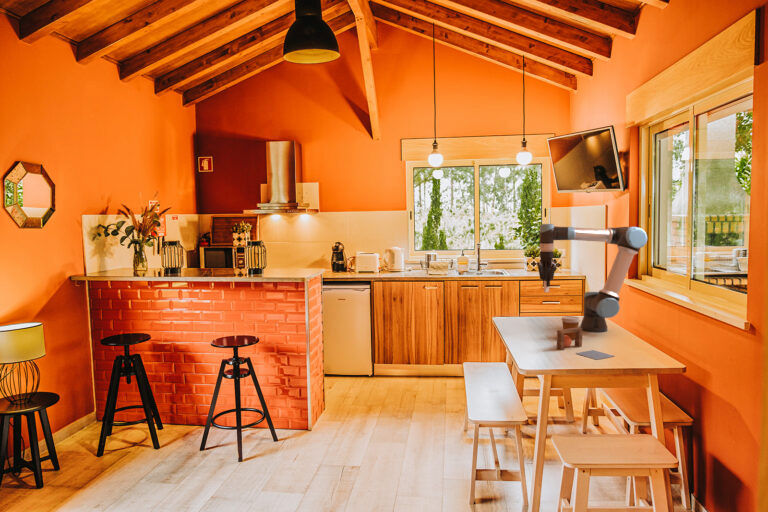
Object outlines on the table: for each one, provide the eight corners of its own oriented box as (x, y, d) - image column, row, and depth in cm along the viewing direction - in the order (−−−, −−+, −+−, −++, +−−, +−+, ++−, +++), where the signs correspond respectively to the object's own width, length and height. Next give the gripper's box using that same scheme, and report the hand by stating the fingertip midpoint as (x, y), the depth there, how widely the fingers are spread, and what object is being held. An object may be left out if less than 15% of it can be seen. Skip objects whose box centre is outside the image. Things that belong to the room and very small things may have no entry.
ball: (574, 346, 270) (564, 347, 274) (573, 334, 271) (562, 335, 276) (568, 346, 266) (558, 347, 271) (567, 334, 268) (556, 335, 272)
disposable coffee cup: (580, 341, 283) (581, 319, 282) (562, 340, 285) (562, 318, 284) (577, 337, 292) (578, 316, 291) (560, 336, 294) (560, 315, 293)
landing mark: (593, 350, 263) (593, 350, 263) (615, 356, 252) (615, 356, 252) (575, 353, 257) (575, 353, 257) (596, 359, 246) (596, 359, 246)
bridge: (556, 348, 266) (557, 330, 266) (577, 345, 274) (577, 327, 273) (561, 350, 264) (561, 331, 263) (581, 346, 271) (582, 328, 270)
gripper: (533, 250, 298) (533, 291, 300) (550, 251, 287) (550, 293, 288) (542, 250, 302) (542, 290, 303) (560, 251, 290) (560, 292, 292)
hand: (546, 291), depth 296 cm, fingers closed
